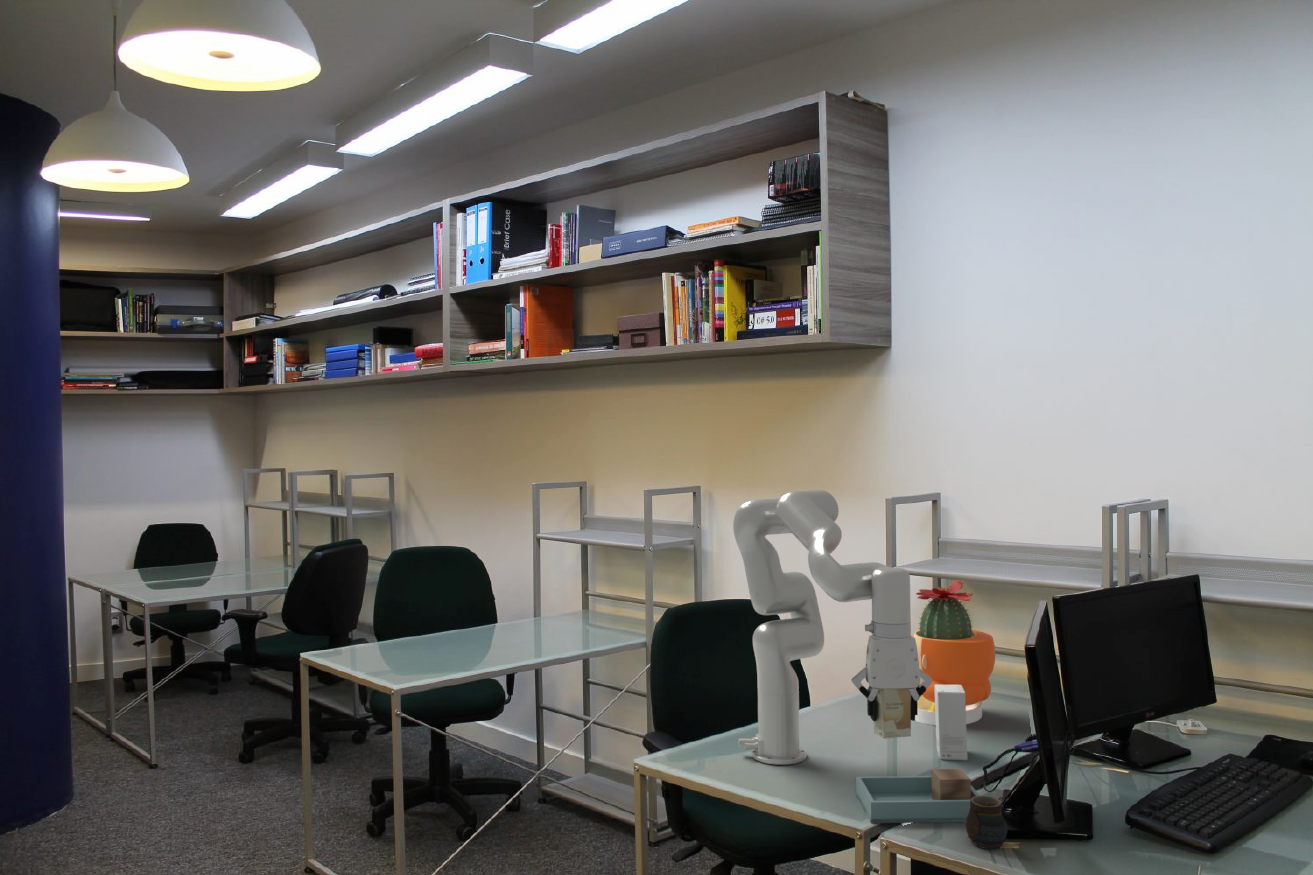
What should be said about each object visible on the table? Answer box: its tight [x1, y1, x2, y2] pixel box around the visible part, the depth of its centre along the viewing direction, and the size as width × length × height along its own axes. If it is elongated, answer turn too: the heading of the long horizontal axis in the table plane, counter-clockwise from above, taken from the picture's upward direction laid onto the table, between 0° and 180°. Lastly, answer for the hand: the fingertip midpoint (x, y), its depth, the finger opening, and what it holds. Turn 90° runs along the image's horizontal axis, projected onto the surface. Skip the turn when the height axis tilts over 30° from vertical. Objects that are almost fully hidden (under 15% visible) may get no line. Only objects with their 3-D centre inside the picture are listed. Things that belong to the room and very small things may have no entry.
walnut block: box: [931, 768, 972, 800], centre depth 194 cm, size 6×6×6 cm
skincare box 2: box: [934, 685, 968, 761], centre depth 226 cm, size 8×7×16 cm
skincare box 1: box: [873, 689, 912, 739], centre depth 194 cm, size 6×4×12 cm
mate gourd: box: [965, 794, 1008, 850], centre depth 177 cm, size 7×8×10 cm
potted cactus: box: [913, 580, 996, 726], centre depth 256 cm, size 22×22×35 cm
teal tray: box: [855, 775, 981, 824], centre depth 194 cm, size 22×14×4 cm, turn 90°
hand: (892, 718), depth 194 cm, fingers closed on skincare box 1, 7 cm apart
